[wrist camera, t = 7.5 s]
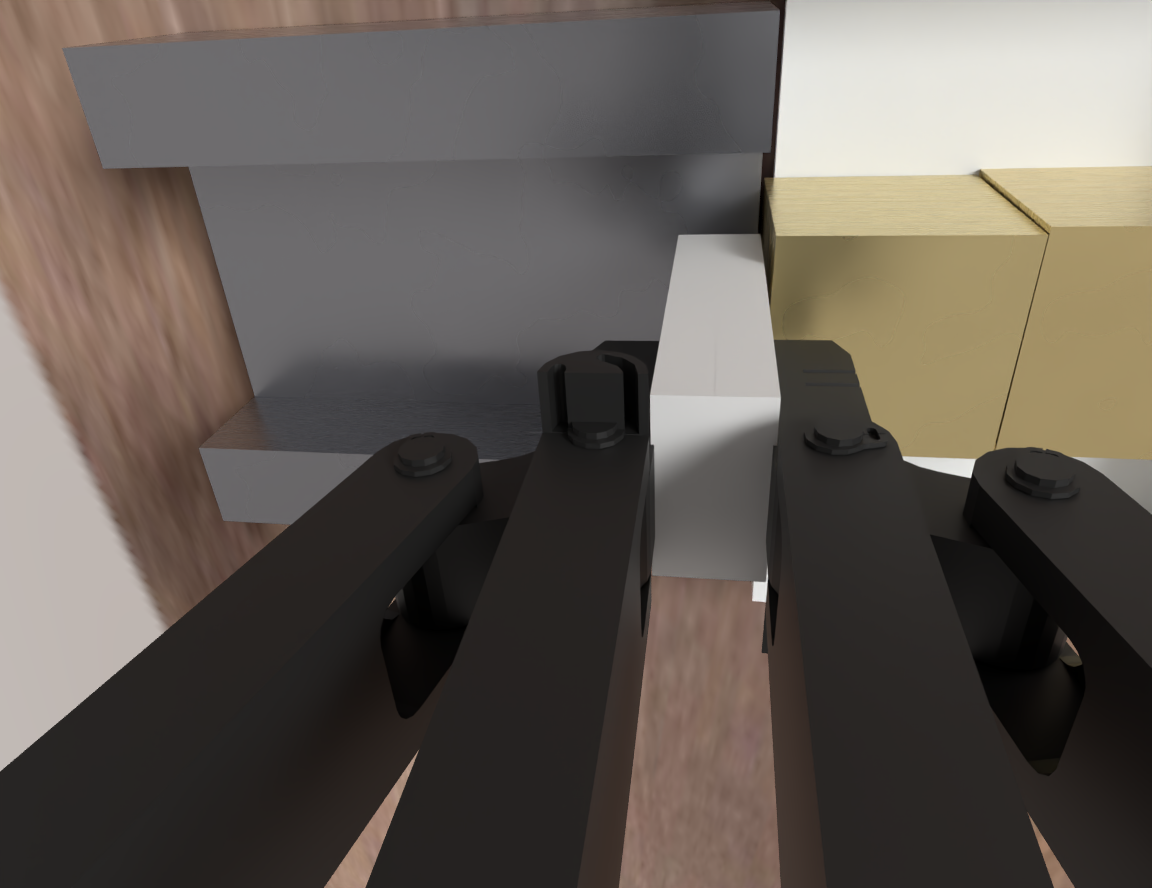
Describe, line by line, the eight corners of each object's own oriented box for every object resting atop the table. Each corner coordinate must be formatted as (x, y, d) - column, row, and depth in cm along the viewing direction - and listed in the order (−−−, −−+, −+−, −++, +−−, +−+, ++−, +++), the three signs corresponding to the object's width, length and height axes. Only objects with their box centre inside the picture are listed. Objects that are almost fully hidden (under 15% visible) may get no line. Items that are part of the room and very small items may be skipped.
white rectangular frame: (794, -133, 14) (809, -155, 11) (1486, -189, 12) (1687, -229, 10) (749, 523, 21) (752, 601, 18) (1182, 545, 19) (1252, 634, 17)
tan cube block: (764, 177, 16) (776, 235, 13) (976, 174, 15) (1047, 234, 12) (751, 359, 18) (759, 451, 15) (938, 363, 17) (991, 459, 14)
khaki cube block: (980, 169, 15) (1051, 226, 12) (1211, 164, 15) (1356, 224, 11) (942, 359, 17) (994, 454, 14) (1144, 362, 17) (1249, 463, 13)
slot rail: (185, 32, 17) (62, 48, 14) (769, 0, 15) (780, 10, 12) (295, 441, 22) (223, 520, 19) (741, 458, 20) (744, 550, 17)
